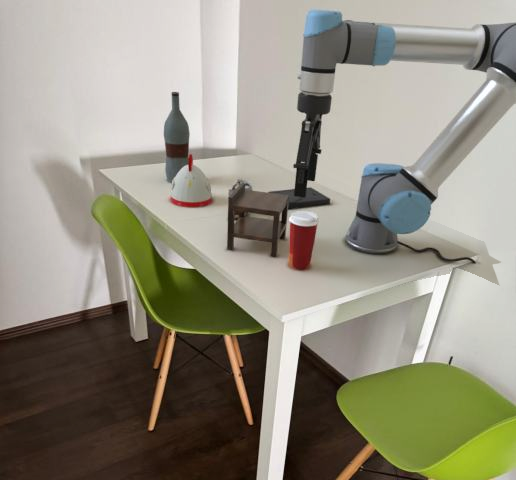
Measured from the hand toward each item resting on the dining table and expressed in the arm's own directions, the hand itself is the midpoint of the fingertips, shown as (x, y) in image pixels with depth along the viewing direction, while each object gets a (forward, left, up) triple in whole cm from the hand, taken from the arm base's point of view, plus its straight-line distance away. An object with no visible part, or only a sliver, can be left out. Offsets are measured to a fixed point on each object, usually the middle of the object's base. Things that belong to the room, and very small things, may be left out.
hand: (304, 188), depth 125 cm
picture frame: (+8, -52, -21) cm, 56 cm away
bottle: (+55, -57, -21) cm, 82 cm away
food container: (+23, -30, -21) cm, 43 cm away
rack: (+13, -10, -21) cm, 27 cm away
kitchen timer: (+43, -38, -21) cm, 61 cm away
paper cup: (-1, 0, -21) cm, 21 cm away
